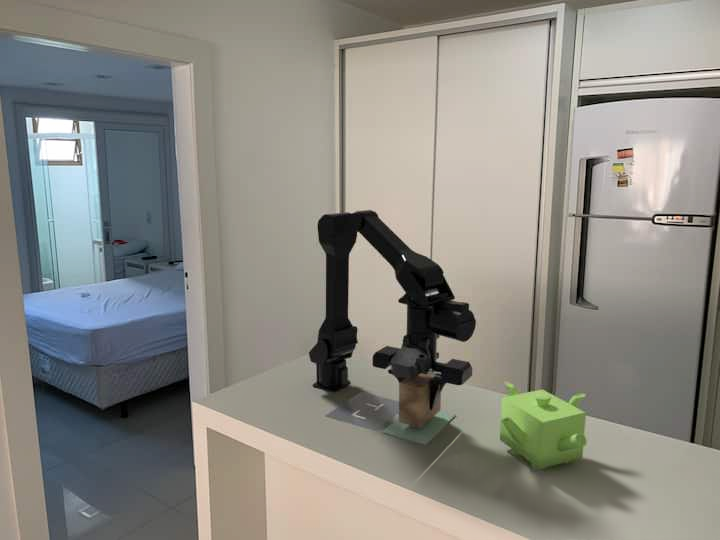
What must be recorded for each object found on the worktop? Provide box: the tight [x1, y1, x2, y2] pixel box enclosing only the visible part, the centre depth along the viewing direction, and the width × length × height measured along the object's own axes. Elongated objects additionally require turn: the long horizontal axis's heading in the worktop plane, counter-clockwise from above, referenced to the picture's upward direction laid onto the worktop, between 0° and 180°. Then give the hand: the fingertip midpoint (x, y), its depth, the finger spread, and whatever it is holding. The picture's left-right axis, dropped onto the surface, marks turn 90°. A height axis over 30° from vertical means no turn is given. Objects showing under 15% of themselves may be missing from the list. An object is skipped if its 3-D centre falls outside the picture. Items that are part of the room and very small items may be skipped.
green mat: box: [382, 409, 457, 446], centre depth 110 cm, size 9×14×1 cm, turn 148°
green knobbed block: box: [499, 381, 588, 472], centre depth 98 cm, size 15×14×11 cm
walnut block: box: [398, 371, 442, 428], centre depth 109 cm, size 5×9×8 cm, turn 148°
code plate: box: [324, 391, 399, 431], centre depth 117 cm, size 12×14×1 cm
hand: (420, 406), depth 110 cm, fingers closed on walnut block, 5 cm apart
